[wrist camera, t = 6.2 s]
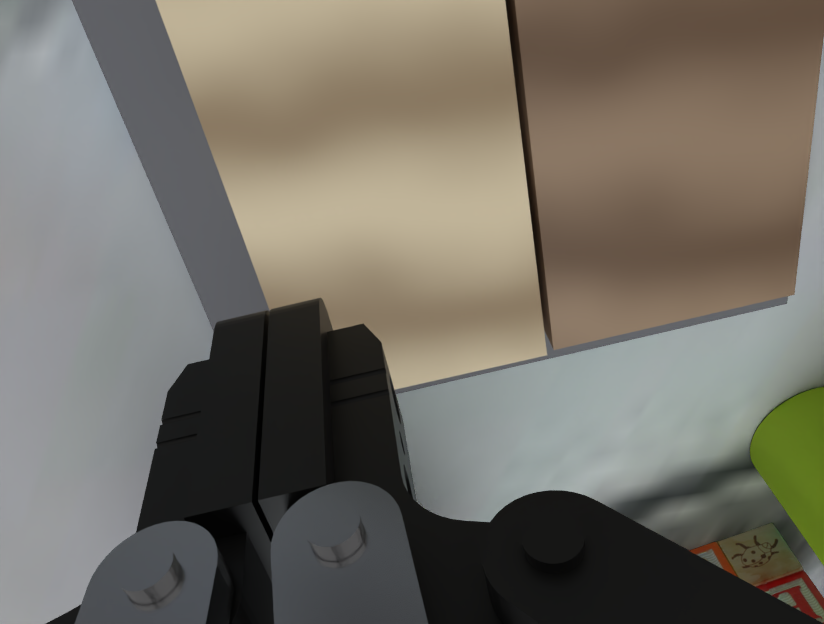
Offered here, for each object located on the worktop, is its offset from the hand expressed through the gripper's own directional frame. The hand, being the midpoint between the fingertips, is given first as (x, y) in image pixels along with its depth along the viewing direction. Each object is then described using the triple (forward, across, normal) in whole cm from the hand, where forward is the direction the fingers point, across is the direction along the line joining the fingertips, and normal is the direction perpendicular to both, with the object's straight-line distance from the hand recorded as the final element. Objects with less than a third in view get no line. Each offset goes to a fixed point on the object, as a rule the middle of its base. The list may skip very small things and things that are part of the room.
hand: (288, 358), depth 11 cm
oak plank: (+14, -2, 0) cm, 14 cm away
